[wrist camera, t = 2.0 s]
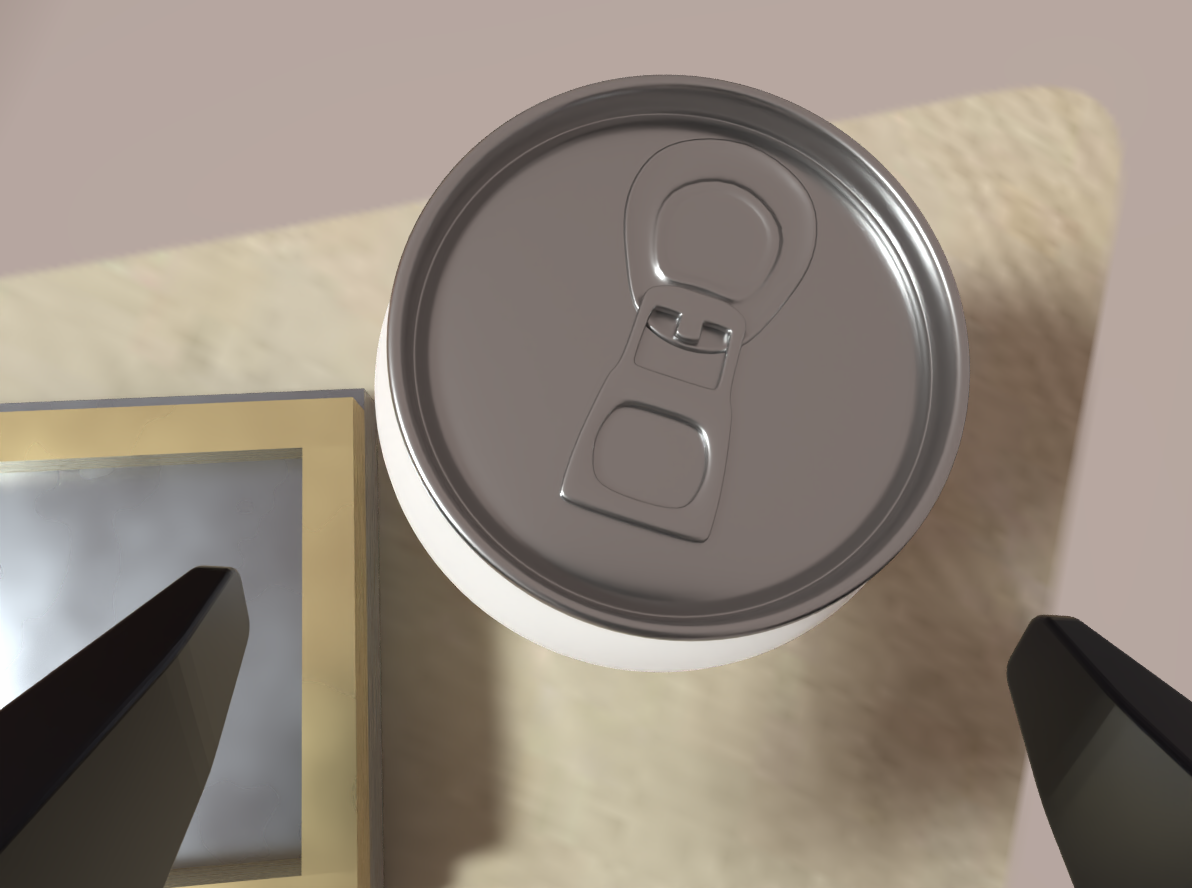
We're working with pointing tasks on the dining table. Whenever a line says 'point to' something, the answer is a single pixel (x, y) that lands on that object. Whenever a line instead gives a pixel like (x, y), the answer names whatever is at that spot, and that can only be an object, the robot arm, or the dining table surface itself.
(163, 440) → the gold square coaster
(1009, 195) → the dining table surface
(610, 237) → the can
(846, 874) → the dining table surface
